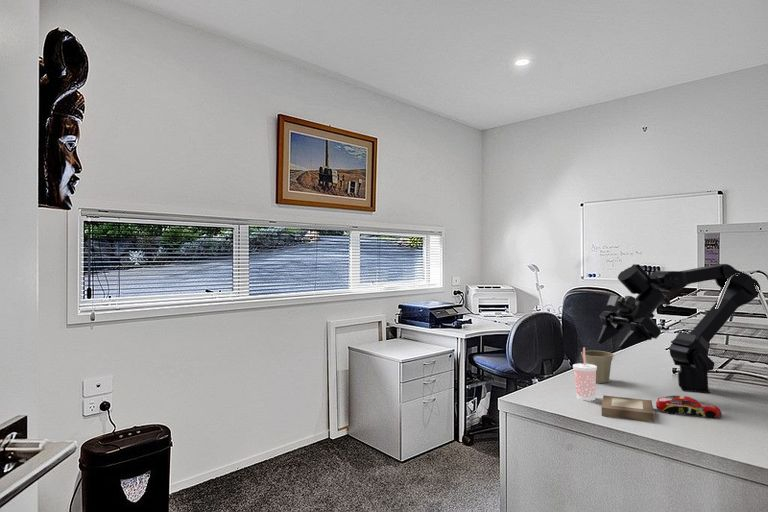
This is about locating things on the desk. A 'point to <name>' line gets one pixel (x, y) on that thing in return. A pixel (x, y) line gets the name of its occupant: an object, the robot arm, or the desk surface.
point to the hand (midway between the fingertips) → (609, 345)
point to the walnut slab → (627, 408)
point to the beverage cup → (585, 380)
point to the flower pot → (600, 364)
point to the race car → (687, 406)
